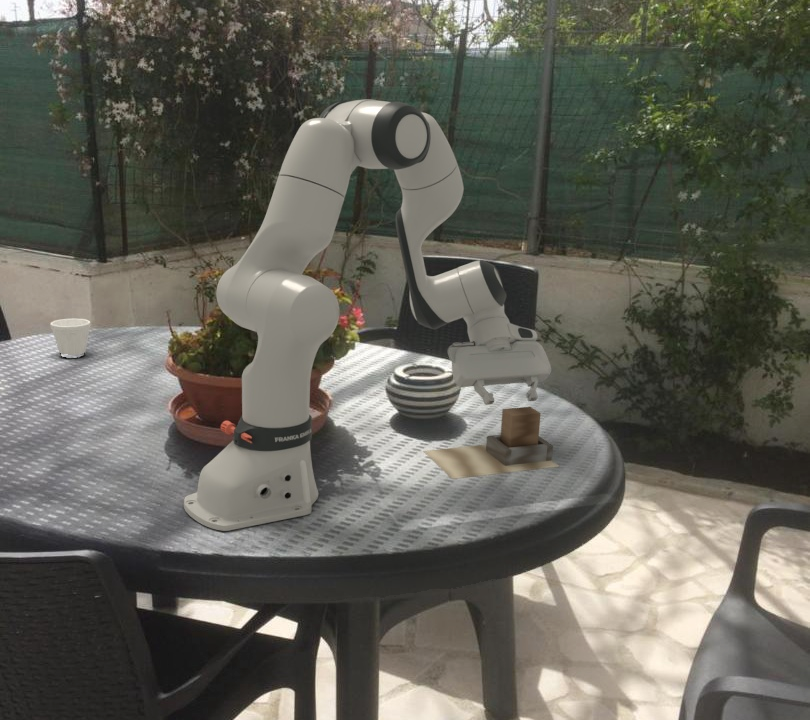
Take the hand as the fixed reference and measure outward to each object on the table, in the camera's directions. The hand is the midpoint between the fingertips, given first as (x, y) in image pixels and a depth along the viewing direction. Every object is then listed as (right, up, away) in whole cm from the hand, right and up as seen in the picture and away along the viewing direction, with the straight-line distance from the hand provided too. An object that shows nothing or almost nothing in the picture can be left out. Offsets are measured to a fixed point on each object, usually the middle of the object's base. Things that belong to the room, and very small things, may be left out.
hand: (511, 401), depth 162 cm
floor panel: (-5, -12, -3) cm, 13 cm away
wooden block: (+1, -10, -1) cm, 10 cm away
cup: (-110, +9, +62) cm, 126 cm away
